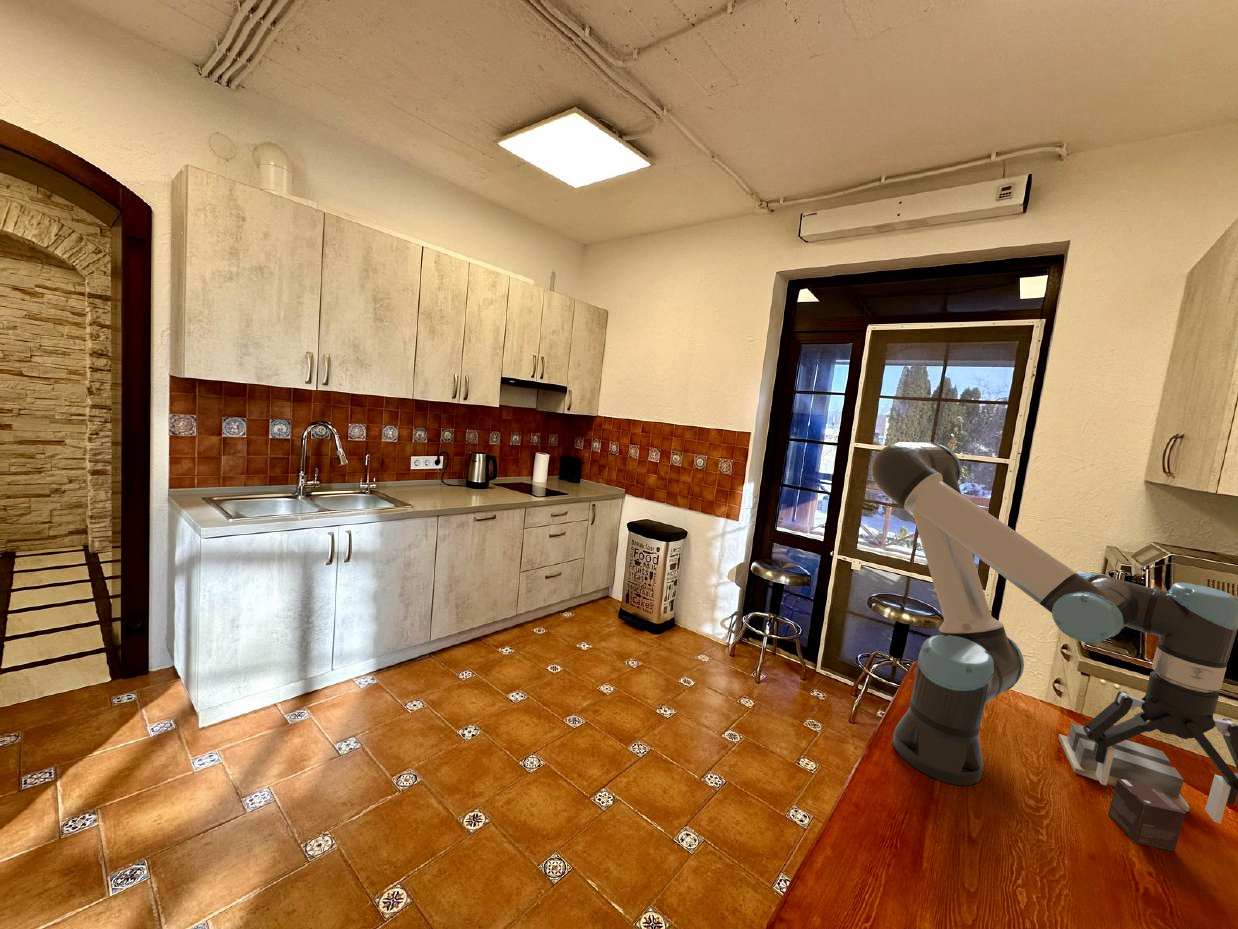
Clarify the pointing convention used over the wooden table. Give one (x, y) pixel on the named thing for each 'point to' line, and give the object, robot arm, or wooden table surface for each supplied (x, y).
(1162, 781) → the stand
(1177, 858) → the wooden table surface
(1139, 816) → the box
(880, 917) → the wooden table surface
